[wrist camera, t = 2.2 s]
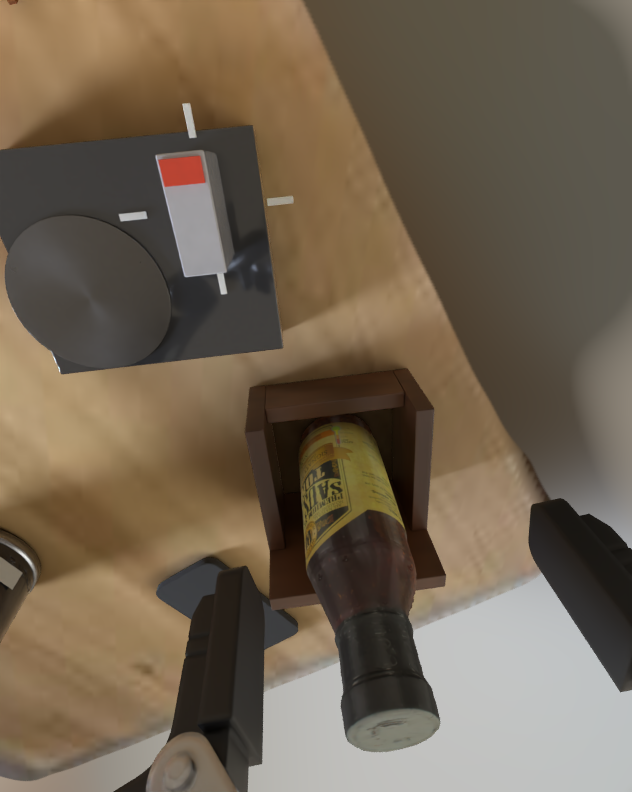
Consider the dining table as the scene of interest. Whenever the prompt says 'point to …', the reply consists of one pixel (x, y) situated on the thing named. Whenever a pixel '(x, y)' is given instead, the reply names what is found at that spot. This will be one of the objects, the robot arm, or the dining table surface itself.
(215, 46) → the dining table surface
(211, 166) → the knob
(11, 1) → the glasses
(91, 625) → the dining table surface
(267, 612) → the phone
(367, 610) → the sauce bottle
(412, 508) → the spice rack
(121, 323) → the burner ring
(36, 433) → the dining table surface
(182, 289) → the hob
